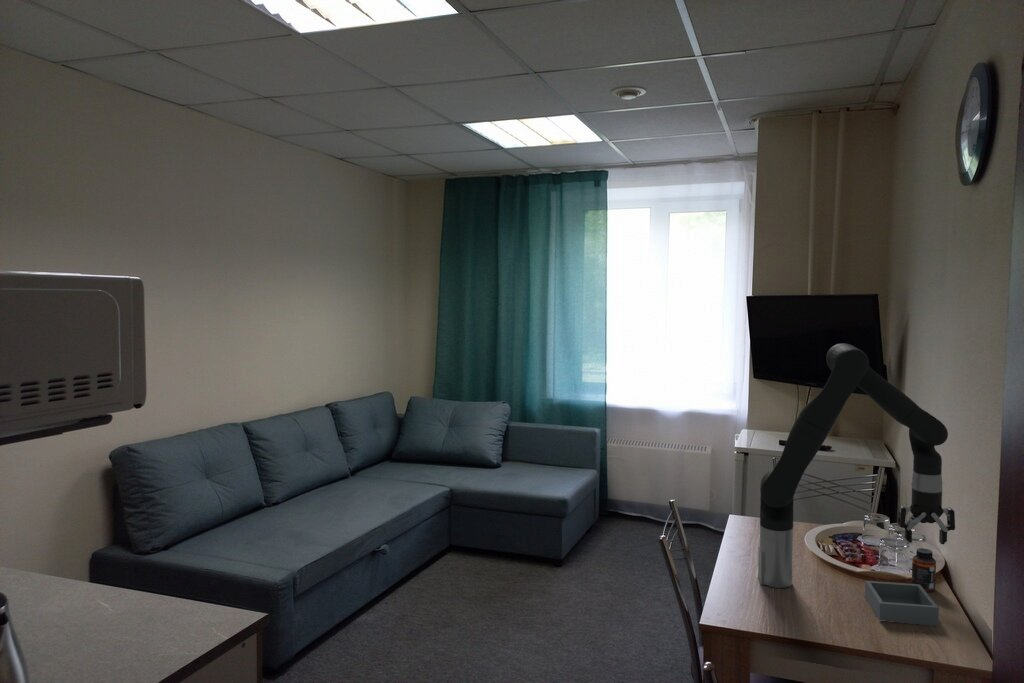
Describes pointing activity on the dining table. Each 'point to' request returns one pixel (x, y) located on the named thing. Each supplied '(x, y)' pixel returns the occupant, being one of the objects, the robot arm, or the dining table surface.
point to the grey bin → (901, 603)
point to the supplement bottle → (924, 569)
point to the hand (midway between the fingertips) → (925, 542)
